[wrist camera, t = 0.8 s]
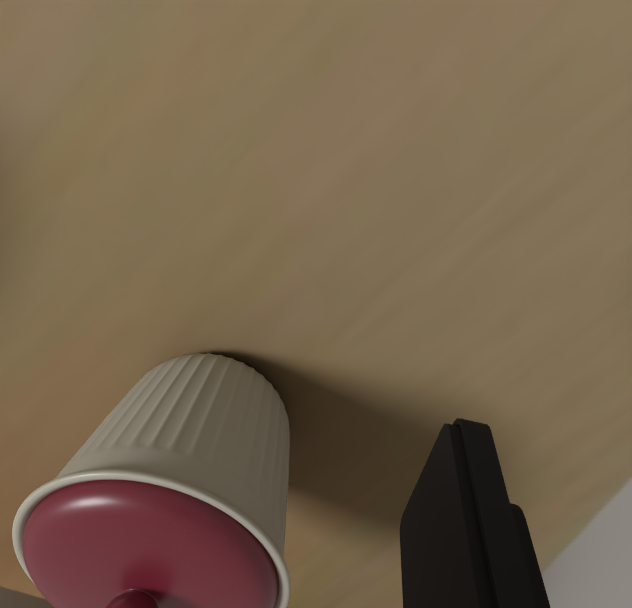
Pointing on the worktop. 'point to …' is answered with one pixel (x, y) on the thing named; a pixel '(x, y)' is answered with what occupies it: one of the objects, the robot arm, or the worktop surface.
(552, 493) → the worktop surface
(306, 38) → the worktop surface
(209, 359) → the canister
